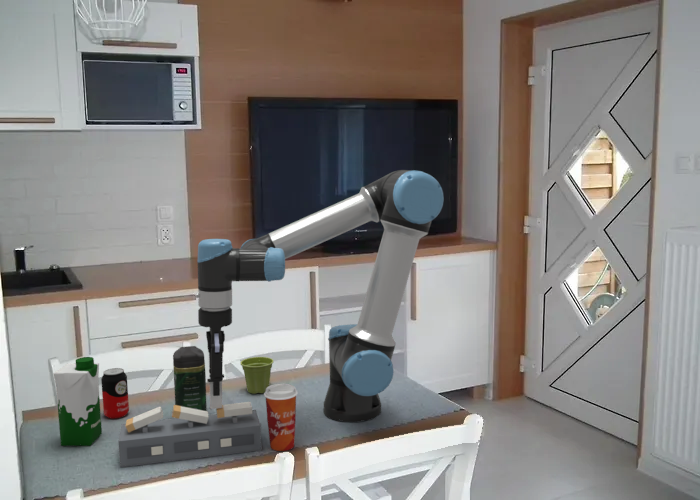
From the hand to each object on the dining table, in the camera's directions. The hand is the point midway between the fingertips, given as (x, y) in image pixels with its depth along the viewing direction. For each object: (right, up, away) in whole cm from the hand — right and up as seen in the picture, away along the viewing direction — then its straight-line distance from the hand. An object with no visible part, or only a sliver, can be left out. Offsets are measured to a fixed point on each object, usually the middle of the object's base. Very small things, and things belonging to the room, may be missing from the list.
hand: (216, 407), depth 160 cm
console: (-6, -10, 0) cm, 11 cm away
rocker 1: (-15, -2, -4) cm, 16 cm away
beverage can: (-30, -7, +21) cm, 38 cm away
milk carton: (-34, -9, +6) cm, 35 cm away
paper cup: (+15, -9, +1) cm, 18 cm away
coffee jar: (-10, -7, +18) cm, 22 cm away
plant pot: (+5, -4, +38) cm, 39 cm away
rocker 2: (-6, -1, -1) cm, 6 cm away
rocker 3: (+4, -1, +1) cm, 4 cm away
